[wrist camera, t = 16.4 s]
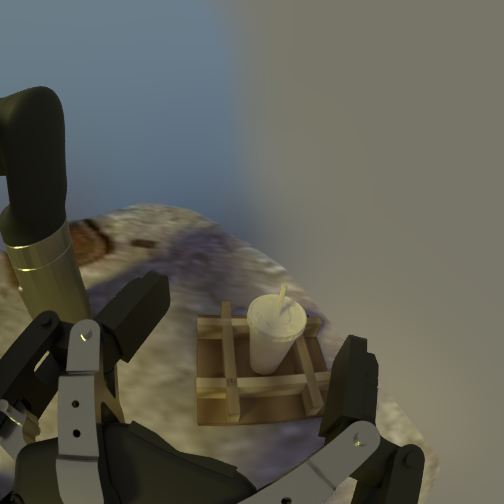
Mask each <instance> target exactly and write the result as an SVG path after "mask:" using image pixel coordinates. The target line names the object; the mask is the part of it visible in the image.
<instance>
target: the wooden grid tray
mask: <svg viewBox="0 0 504 504" xmlns="http://www.w3.org/2000/svg"><path fill="white" fill-rule="evenodd" d="M306 316H307V322H306V325H305V329H304V331H303V333H302V334H301V335H300V336H299V337H298V338H296V339H295V341H294V343H293V344H292V346H291V347H290V349H289V351H288V352H287V354H286V356H285V357H284V359H283V360H282V362H281V363H280V365H279V367H278V368H277V370H276V371H275V372H274V373H272V374H270V375H260V374H257V373H256V372H254V371H253V370H252V368H251V366H250V327H249V324H248V322H247V316H231V306H230V301H222V304H221V316H219V315H199V316H198V320H197V330H198V352H197V378H196V390H197V417H198V425H202V426H228V425H253V424H267V423H278V422H287V421H295V420H302V419H309V418H316V417H321V416H323V413H324V408H325V403H326V398H327V393H328V388H329V382H330V376H331V371H327V368H326V365H325V362H324V359H323V356H322V353H321V350H320V347H319V345H318V342H317V339H316V335H317V333H318V330H319V328H320V326H321V320H320V318H319V317H309V316H308V315H306Z"/></svg>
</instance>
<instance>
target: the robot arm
mask: <svg viewBox="0 0 504 504" xmlns="http://www.w3.org/2000/svg"><path fill="white" fill-rule="evenodd" d="M0 176H6V179H7V187H8V194H9V201H10V204H9V205H8V206H7V207H6V208H5V209H4V210H3V211H2V213H1V215H0V232H1V235H2V238H3V241H4V244H5V247H6V250H7V253H8V256H9V258H10V261H11V264H12V266H13V269H14V271H15V274H16V276H17V279H18V281H19V283H20V286H19V288H18V291H19V293H20V295H21V297H22V300H23V302H24V304H25V306H26V308H27V310H28V312H29V314H30V315H31V317H32V319H33V321H32V322H31V323H30V325H29V326H28V327H27V328H26V329H25V330H24V331H23V332H22V334H21V335H20V336H19V337H18V338H17V339H16V341H15V342H14V343H13V344H12V345H11V347H10V348H9V349H8V350H7V352H6V353H5V354H4V355H3V357H2V358H1V359H0V445H1V446H2V447H3V448H4V449H5V451H6V452H7V453H8V454H9V455H10V456H11V457H12V458H13V459H14V460H15V461H16V463H15V479H14V484H13V488H12V490H11V492H10V493H9V494H8V495H7V496H6V497H4V498H3V499H2V500H0V504H321V503H322V502H323V501H324V500H326V499H327V498H328V497H329V496H331V495H332V494H333V493H334V491H335V489H336V487H337V486H338V485H339V484H340V483H341V482H343V481H344V480H345V479H346V478H347V477H348V476H349V477H352V478H354V479H356V480H358V481H357V484H356V488H355V491H354V495H353V498H352V501H351V504H417V503H418V499H419V494H420V488H421V483H422V477H423V470H424V462H425V457H424V453H423V451H422V450H421V448H420V447H418V446H416V445H414V444H408V445H405V446H403V447H400V446H398V445H396V444H393V443H391V442H389V441H387V440H386V439H384V438H383V437H382V436H381V435H380V433H379V431H378V429H377V428H376V424H375V418H376V406H377V391H378V388H377V386H378V363H377V360H376V357H375V355H374V354H372V353H368V352H367V339H365V338H361V337H357V336H354V335H349V336H348V337H347V339H346V340H345V342H344V344H343V345H342V347H341V349H340V350H339V352H338V354H337V355H336V357H335V360H334V362H333V366H332V371H331V376H330V382H329V388H328V393H327V398H326V403H325V408H324V413H323V417H322V422H321V426H320V431H319V435H318V436H320V437H325V443H324V446H323V447H321V448H320V449H319V450H317V451H316V452H315V453H313V454H312V455H311V456H309V457H308V458H307V459H305V460H304V461H302V462H301V463H300V464H298V465H297V466H295V467H294V468H292V469H291V470H289V471H288V472H286V473H285V474H283V475H281V476H280V477H278V478H277V479H275V480H273V481H272V482H270V483H268V484H267V485H265V486H263V487H262V488H260V489H258V490H257V489H256V488H255V486H254V485H253V484H252V483H251V482H250V481H249V480H248V479H247V478H246V477H245V476H243V475H242V474H241V473H239V472H237V471H236V469H237V467H236V466H233V465H230V464H227V463H224V462H221V461H218V460H216V459H213V458H210V457H205V456H199V455H193V454H188V453H183V452H179V451H177V450H176V449H175V448H173V447H172V446H171V445H170V444H168V443H167V442H166V441H165V440H164V439H162V438H161V437H160V436H159V435H158V434H157V433H155V432H153V431H151V430H149V429H147V428H146V427H144V426H142V425H140V424H138V423H137V422H135V421H132V422H131V424H126V423H125V421H124V415H123V411H122V408H121V406H120V402H119V392H118V377H117V364H116V363H117V362H118V361H119V359H121V360H123V361H125V362H126V363H128V362H129V361H130V360H131V358H132V357H133V356H134V354H135V353H136V352H137V350H138V349H139V348H140V346H141V345H142V344H143V342H144V341H145V340H146V338H147V337H148V336H149V335H150V333H151V332H152V331H153V329H154V328H155V327H156V325H157V324H158V323H159V321H160V320H161V319H162V318H163V316H164V315H165V314H166V312H167V311H168V309H169V306H170V292H169V283H168V277H167V276H166V275H163V274H161V273H158V272H155V271H153V270H152V271H149V272H148V273H147V274H146V275H145V276H144V277H143V278H137V279H135V280H133V281H131V282H129V283H128V284H127V285H126V286H125V287H124V288H123V289H122V290H121V292H119V293H118V294H117V295H116V297H114V298H113V299H112V300H111V301H110V302H109V303H108V304H107V305H106V306H105V307H104V308H103V309H102V310H101V312H100V313H99V314H98V315H97V316H96V317H95V316H94V313H93V310H92V307H91V304H90V302H89V298H88V295H87V292H86V289H85V286H84V283H83V280H82V277H81V273H80V270H79V266H78V263H77V259H76V255H75V252H74V248H73V244H72V239H71V235H70V231H69V226H68V222H67V217H66V211H65V200H66V192H67V177H66V162H65V123H64V114H63V109H62V105H61V102H60V100H59V98H58V96H57V95H56V93H55V92H54V91H53V90H51V89H50V88H47V87H42V86H39V87H33V88H29V89H26V90H23V91H20V92H17V93H15V94H12V95H9V96H7V97H4V98H0ZM47 351H49V352H50V353H49V354H48V356H47V357H46V358H45V360H44V361H43V362H42V363H41V365H40V366H39V367H38V369H37V370H36V371H35V372H34V369H35V366H36V365H37V363H38V362H39V361H40V359H41V358H42V357H43V356H44V354H45V353H46V352H47ZM57 391H58V437H56V438H52V439H47V440H43V441H38V442H35V438H36V436H39V435H40V432H41V431H40V428H39V423H38V420H39V418H40V417H41V415H42V413H43V412H44V410H45V409H46V407H47V406H48V404H49V403H50V401H51V400H52V398H53V397H54V395H55V394H56V392H57Z"/></svg>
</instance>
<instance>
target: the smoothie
mask: <svg viewBox="0 0 504 504" xmlns="http://www.w3.org/2000/svg"><path fill="white" fill-rule="evenodd" d="M287 287H288V285H287V284H286V283H283V284H282V287H281V291H280V295H278V294H268V295H263V296H260V297H258V298H256V299H255V300H254V301H253V302H252V303H251V304H250V306H249V309H248V313H247V322H248V324H249V327H250V366H251V368H252V370H253V371H254V372H256V373H257V374H260V375H270V374H272V373H274V372H275V371H276V370H277V368H278V367H279V365H280V363H281V362H282V360H283V359H284V357H285V356H286V354H287V352H288V351H289V349H290V347H291V346H292V344H293V343H294V341H295V339H296V338H298V337H299V336H300V335H301V334H302V333H303V331H304V329H305V325H306V322H307V316H306V313H305V311H304V309H303V307H302V306H301V305H300V304H299V303H298V302H296V301H295V300H293V299H291V298H289V297H287V296H285V294H286V291H287Z"/></svg>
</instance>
